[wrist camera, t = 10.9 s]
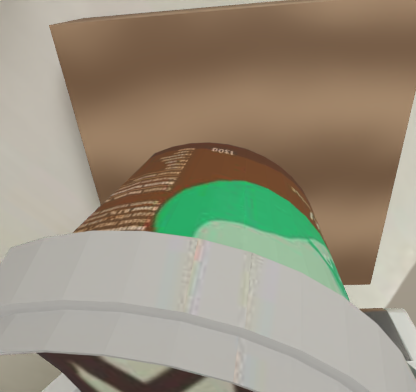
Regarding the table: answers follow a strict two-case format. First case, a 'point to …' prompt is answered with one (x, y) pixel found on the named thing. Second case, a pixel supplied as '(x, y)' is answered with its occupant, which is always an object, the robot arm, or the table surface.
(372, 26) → the walnut base
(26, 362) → the table surface
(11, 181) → the table surface
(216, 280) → the food container
